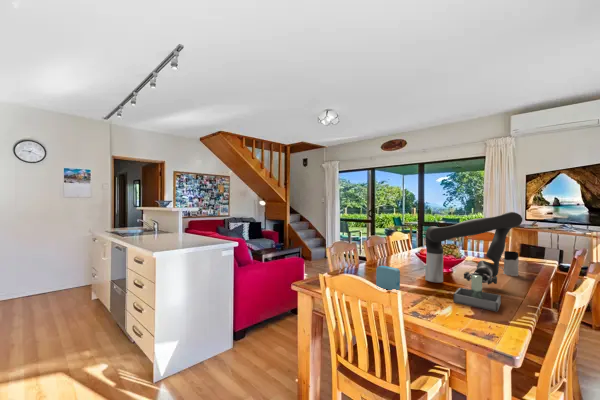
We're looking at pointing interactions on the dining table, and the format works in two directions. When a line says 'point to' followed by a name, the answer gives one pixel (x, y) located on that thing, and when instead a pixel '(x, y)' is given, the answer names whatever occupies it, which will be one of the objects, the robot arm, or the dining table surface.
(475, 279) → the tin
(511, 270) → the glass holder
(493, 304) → the tote
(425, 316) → the dining table surface
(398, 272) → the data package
